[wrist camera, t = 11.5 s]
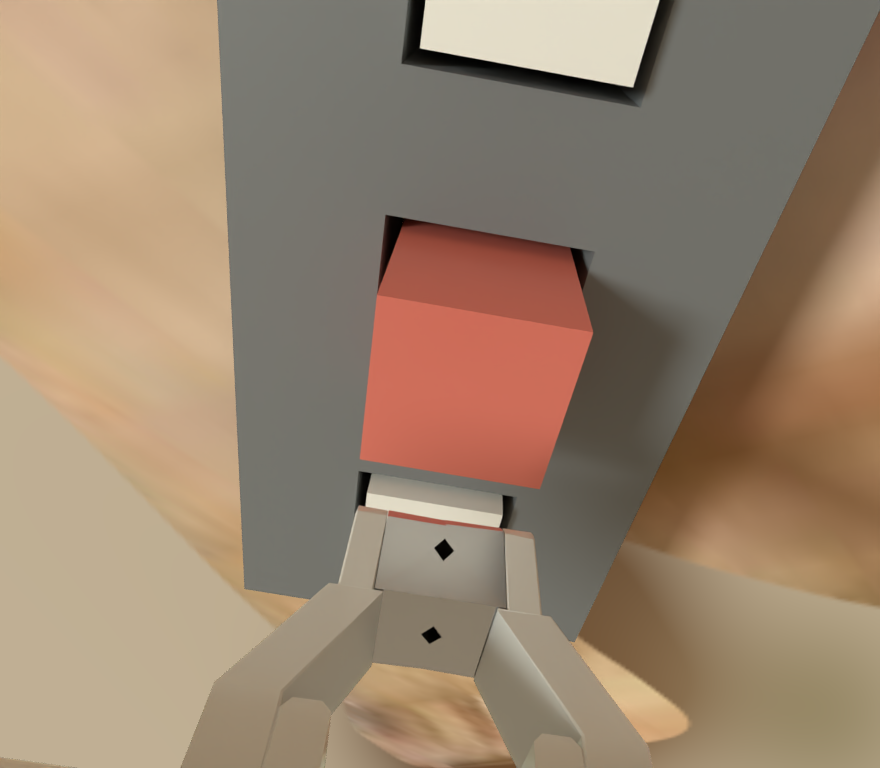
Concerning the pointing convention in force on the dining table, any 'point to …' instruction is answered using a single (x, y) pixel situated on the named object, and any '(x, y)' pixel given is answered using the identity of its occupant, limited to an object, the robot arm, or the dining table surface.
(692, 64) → the button console
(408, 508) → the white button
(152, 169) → the dining table surface
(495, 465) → the red button
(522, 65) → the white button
